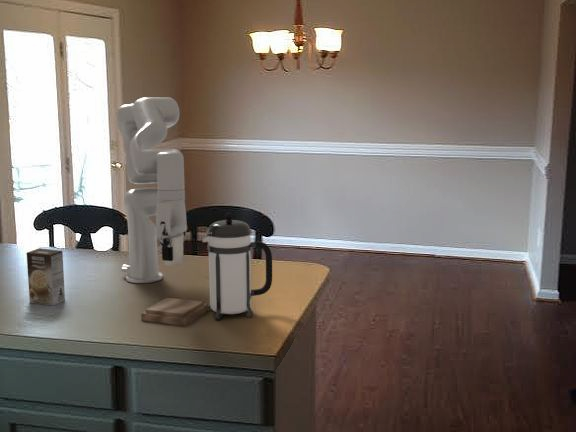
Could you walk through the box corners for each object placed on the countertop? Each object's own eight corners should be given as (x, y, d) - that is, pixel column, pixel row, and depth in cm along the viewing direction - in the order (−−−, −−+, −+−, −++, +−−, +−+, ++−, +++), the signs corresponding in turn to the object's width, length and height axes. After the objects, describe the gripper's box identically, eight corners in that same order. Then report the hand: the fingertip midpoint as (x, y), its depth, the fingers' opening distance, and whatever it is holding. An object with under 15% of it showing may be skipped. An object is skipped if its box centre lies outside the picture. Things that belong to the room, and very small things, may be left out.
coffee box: (28, 303, 214) (24, 252, 211) (42, 297, 220) (38, 247, 217) (53, 306, 211) (49, 254, 208) (66, 300, 217) (63, 250, 214)
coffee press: (238, 325, 193) (237, 219, 187) (194, 315, 201) (191, 214, 196) (273, 309, 207) (273, 210, 202) (231, 300, 216) (229, 205, 210)
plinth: (141, 320, 198) (140, 310, 197) (166, 305, 211) (166, 296, 210) (184, 325, 193) (184, 315, 192) (207, 310, 206) (207, 301, 205)
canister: (160, 264, 197) (158, 234, 196) (170, 260, 202) (169, 230, 201) (177, 266, 195) (176, 235, 194) (187, 261, 201) (186, 231, 199)
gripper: (175, 190, 205) (177, 250, 208) (143, 199, 189) (145, 263, 192) (197, 191, 202) (199, 252, 205) (167, 200, 186) (169, 266, 189)
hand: (173, 257), depth 199 cm, fingers closed on canister, 5 cm apart
